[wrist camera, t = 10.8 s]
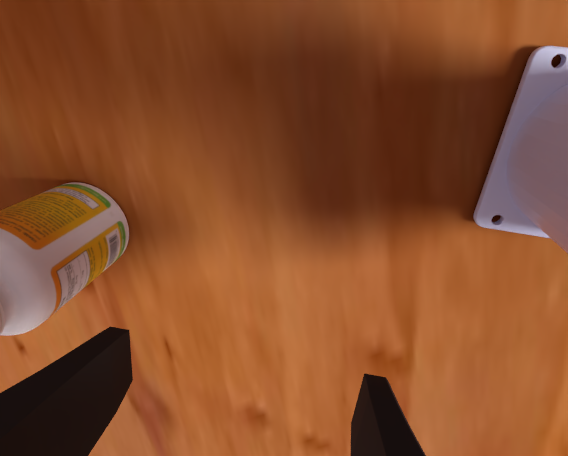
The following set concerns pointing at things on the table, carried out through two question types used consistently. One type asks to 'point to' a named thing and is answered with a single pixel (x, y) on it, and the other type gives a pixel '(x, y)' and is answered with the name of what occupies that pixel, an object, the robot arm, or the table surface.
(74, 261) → the supplement bottle
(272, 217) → the table surface
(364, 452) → the robot arm
